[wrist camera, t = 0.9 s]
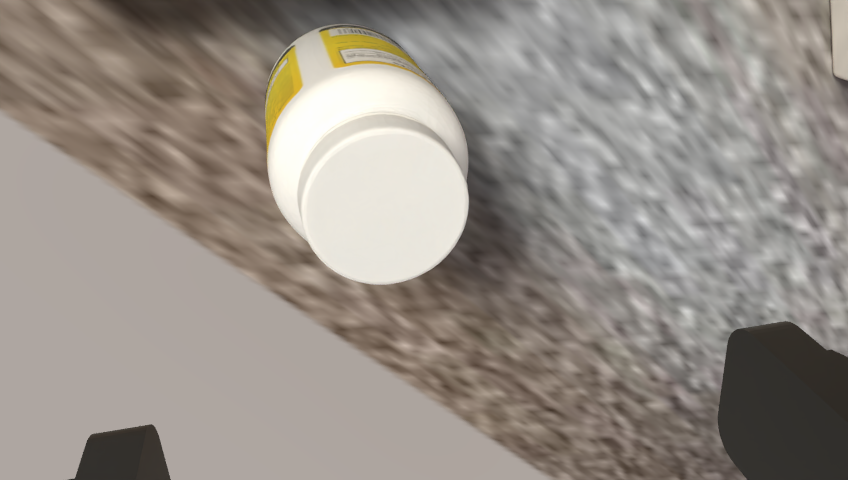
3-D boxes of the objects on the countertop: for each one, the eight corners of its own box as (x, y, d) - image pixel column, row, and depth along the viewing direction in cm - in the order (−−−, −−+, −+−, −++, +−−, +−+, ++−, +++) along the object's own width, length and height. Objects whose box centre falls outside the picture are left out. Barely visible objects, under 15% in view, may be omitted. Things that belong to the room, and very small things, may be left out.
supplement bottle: (312, 200, 28) (333, 346, 19) (235, 66, 25) (219, 163, 16) (446, 133, 27) (529, 250, 19) (382, -8, 25) (444, 51, 16)
